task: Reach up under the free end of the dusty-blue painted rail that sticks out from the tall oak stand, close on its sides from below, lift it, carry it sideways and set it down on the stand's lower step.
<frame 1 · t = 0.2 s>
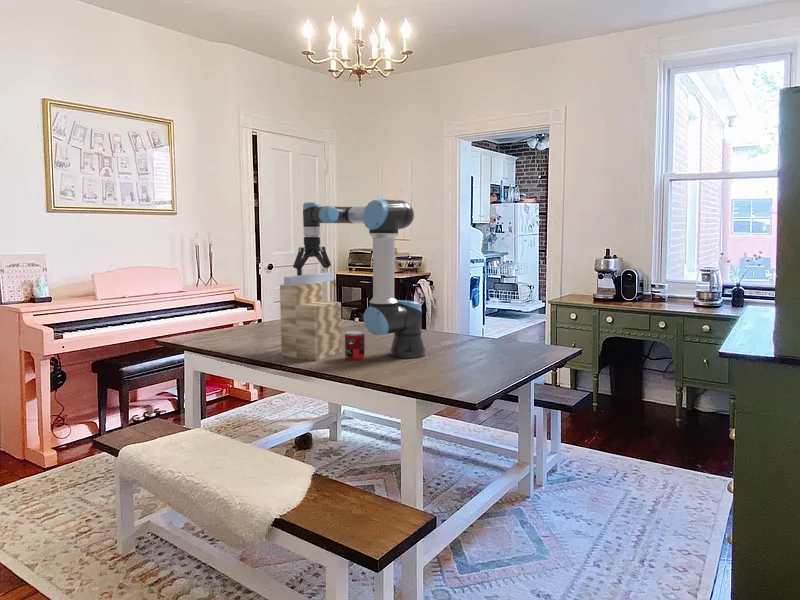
hand: (312, 282, 277), 28 cm above the table, tool pointing down, fingers open, 13 cm apart
stand: (310, 354, 256), on the table
canned food: (354, 359, 247), on the table
rail: (310, 282, 259), point 30 cm above the table, touching stand
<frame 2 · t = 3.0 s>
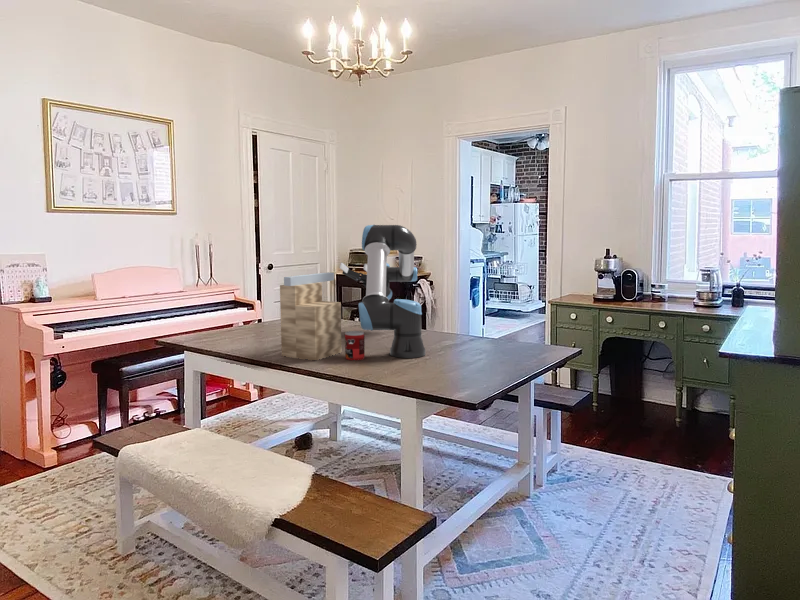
hand: (352, 265, 283), 36 cm above the table, tool pointing upward, fingers open, 13 cm apart
nothing on the table moved.
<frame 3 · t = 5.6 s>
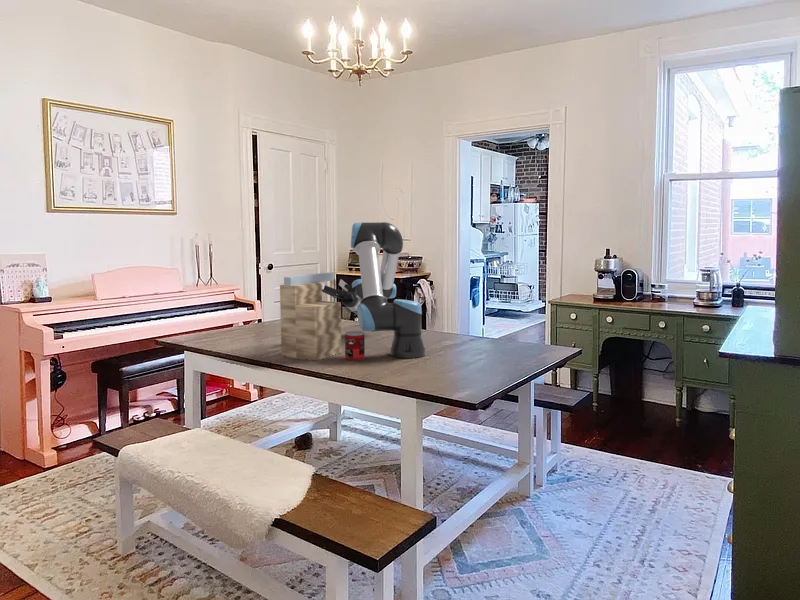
hand: (327, 281, 271), 30 cm above the table, tool pointing upward, fingers open, 13 cm apart
nothing on the table moved.
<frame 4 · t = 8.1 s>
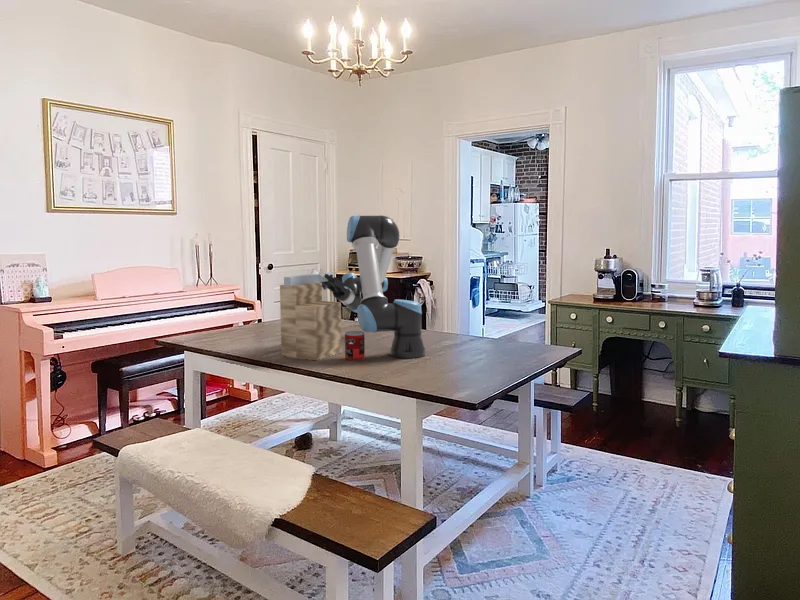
hand: (316, 271, 262), 35 cm above the table, tool pointing upward, fingers closed on rail, 3 cm apart
rail: (310, 282, 259), point 30 cm above the table, touching gripper, stand
everything else where it was.
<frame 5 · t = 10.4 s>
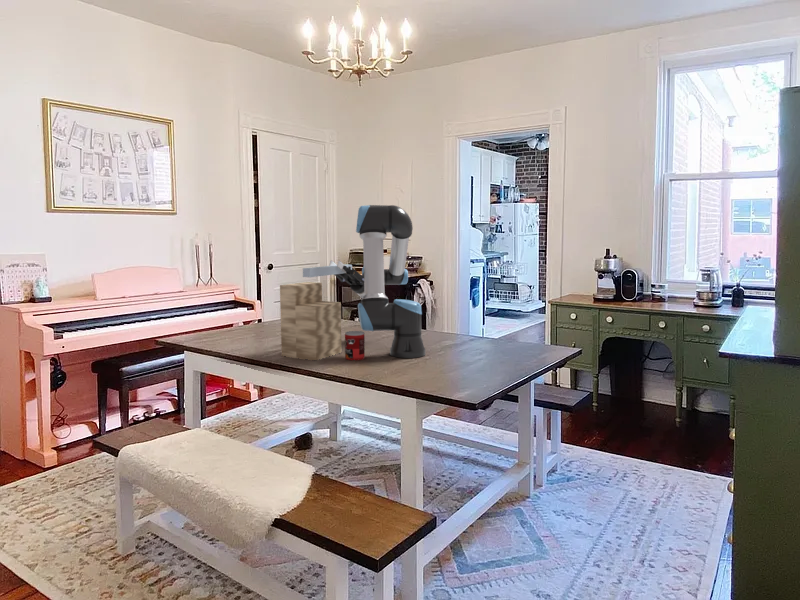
hand: (334, 263, 257), 38 cm above the table, tool pointing upward, fingers closed on rail, 3 cm apart
rail: (328, 274, 254), point 34 cm above the table, touching gripper
everything else where it was.
when the fingers open (28 cm above the table, at t = 13.2 s): rail drops 1 cm, resting on stand.
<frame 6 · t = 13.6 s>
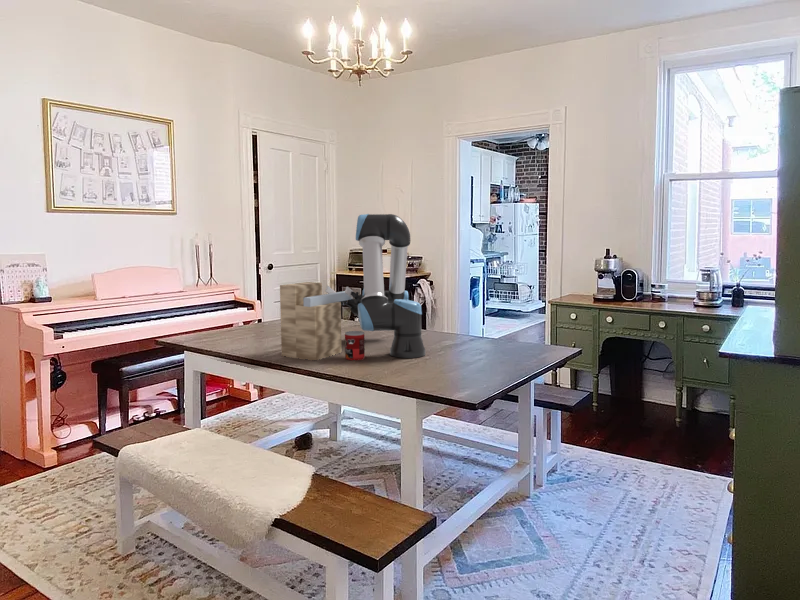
hand: (336, 288, 259), 27 cm above the table, tool pointing upward, fingers open, 10 cm apart
rail: (329, 302, 255), point 22 cm above the table, touching stand
everything else where it was.
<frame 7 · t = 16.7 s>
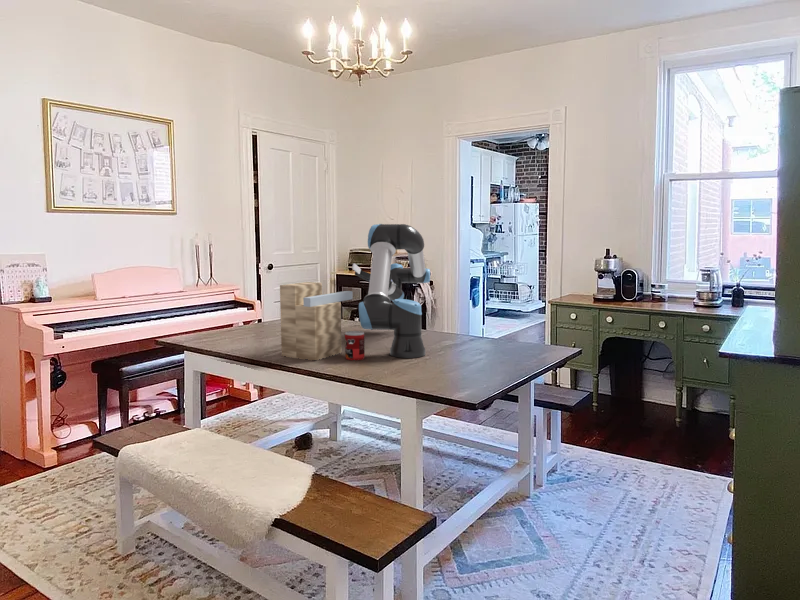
hand: (365, 266, 283), 36 cm above the table, tool pointing upward, fingers open, 13 cm apart
nothing on the table moved.
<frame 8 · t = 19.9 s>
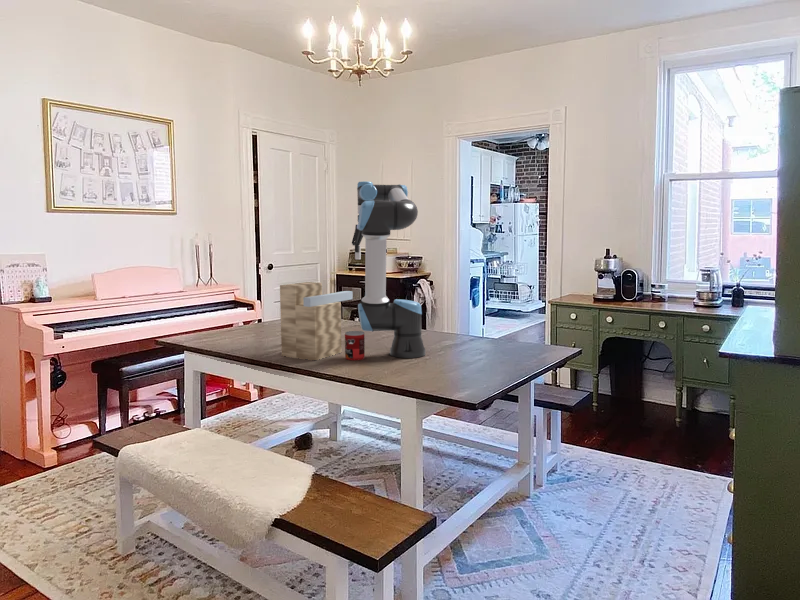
hand: (365, 258, 289), 39 cm above the table, tool pointing down, fingers open, 13 cm apart
nothing on the table moved.
at the end: rail inside the target area (0.5 cm from its centre), point 22.0 cm above the table; the gripper is holding nothing; rail tilted 0° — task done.
